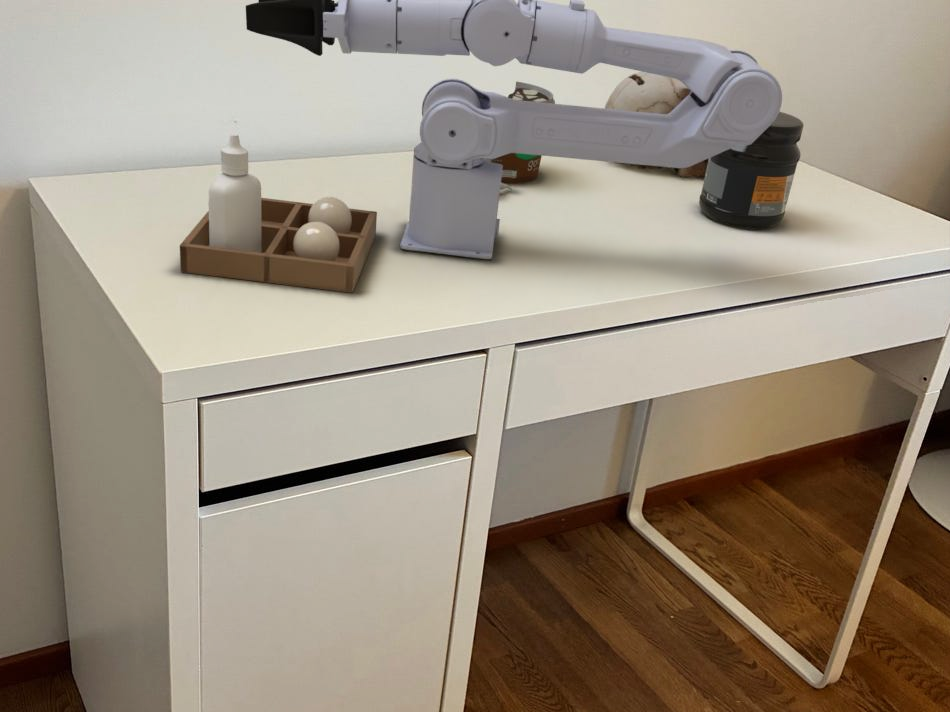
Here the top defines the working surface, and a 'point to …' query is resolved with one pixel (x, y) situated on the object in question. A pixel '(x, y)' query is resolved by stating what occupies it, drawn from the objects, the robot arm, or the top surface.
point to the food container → (517, 164)
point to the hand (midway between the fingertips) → (253, 13)
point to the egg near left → (331, 214)
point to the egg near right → (316, 242)
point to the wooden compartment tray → (283, 251)
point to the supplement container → (754, 177)
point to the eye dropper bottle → (235, 202)
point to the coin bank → (653, 104)
